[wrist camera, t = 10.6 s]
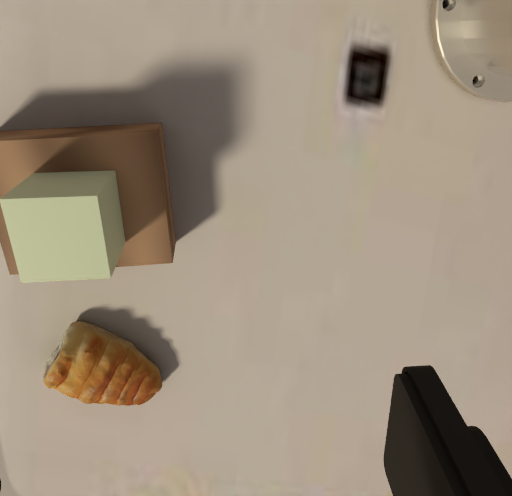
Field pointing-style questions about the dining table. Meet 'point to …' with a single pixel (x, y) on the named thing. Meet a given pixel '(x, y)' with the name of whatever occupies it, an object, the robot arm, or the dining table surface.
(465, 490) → the robot arm
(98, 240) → the green cube
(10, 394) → the dining table surface
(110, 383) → the pastry
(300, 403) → the dining table surface
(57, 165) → the walnut block
